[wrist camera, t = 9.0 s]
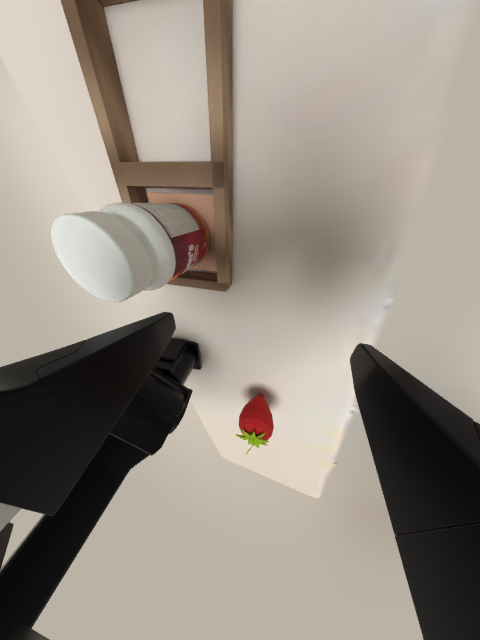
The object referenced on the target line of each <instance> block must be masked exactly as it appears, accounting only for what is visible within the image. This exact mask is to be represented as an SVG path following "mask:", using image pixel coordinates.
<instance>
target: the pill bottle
mask: <svg viewBox="0 0 480 640" xmlns="http://www.w3.org/2000/svg"><path fill="white" fill-rule="evenodd" d="M51 238H52V243H53V246H54V250H55V252H56V254H57V256H58V258H59V260H60V261H61V263H62V265H63V266H64V268H65V269H66V270H67V272H68V273H69V274H70V276H71V277H72V278H73V279H74V280H75V281H76V282H77V283H78V284H79V285H80V286H82V287H83V288H84V289H85V290H87V291H88V292H90V293H91V294H93V295H94V296H96V297H98V298H100V299H103V300H106V301H110V302H121V301H124V300H126V299H128V298H130V297H132V296H134V295H135V294H138V293H140V292H141V291H143V290H155V289H158V288H160V287H162V286H164V285H166V284H167V283H169V282H170V281H172V280H173V279H175V278H177V277H178V276H180V275H181V274H183V273H184V272H186V271H187V270H189V269H190V268H192V267H193V266H195V265H196V264H198V263H199V262H200V261H201V260H203V258H204V257H205V256H206V254H207V252H208V249H209V233H208V229H207V227H206V224H205V222H204V221H203V219H202V218H201V216H200V215H199V214H198V213H197V212H196V211H195V210H194V209H192V208H191V207H189V206H187V205H184V204H179V203H113V204H109V205H107V206H105V207H103V208H102V209H100V210H99V211H91V212H84V213H71V214H64V215H61V216H59V217H58V218H57V219H56V220H55V221H54V223H53V225H52V228H51Z"/></svg>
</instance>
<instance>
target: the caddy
mask: <svg viewBox="0 0 480 640" xmlns="http://www.w3.org/2000/svg"><path fill="white" fill-rule="evenodd" d="M129 1H134V0H61V3H62V6H63V10H64V13H65V16H66V19H67V23H68V26H69V29H70V32H71V36H72V39H73V42H74V46H75V49H76V52H77V55H78V59H79V62H80V65H81V69H82V72H83V75H84V78H85V82H86V85H87V88H88V92H89V95H90V98H91V101H92V105H93V108H94V111H95V114H96V118H97V121H98V124H99V128H100V131H101V134H102V137H103V141H104V144H105V147H106V151H107V154H108V157H109V160H110V164H111V167H112V170H113V174H114V177H115V180H116V183H117V187H118V190H119V193H120V196H121V200H122V203H148V199H147V195H146V191H145V188H182V189H213V194H186V193H150V192H147V193H148V198H149V202H150V203H179V204H184V205H187V206H189V207H191V208H192V209H194V210H195V211H196V212H197V213H198V214H199V215H200V216H201V218H202V219H203V221H204V222H205V224H206V227H207V229H208V233H209V249H208V252H207V254H206V256H205V257H204V258H203V260H201V261H200V262H199V263H198V264H196V265H195V266H193V267H192V268H190V269H196V270H205V271H215V272H217V274H212V273H203V272H194V271H186V272H184V273H183V274H181V275H180V276H178V277H177V278H175V279H173V280H172V281H170V282H169V283H167V284H171V285H179V286H186V287H194V288H202V289H210V290H217V291H225V292H226V291H227V290H228V288H229V287H230V285H231V284H232V0H203V6H204V25H205V45H206V65H207V85H208V104H209V124H210V144H211V161H210V162H139V161H138V156H137V152H136V148H135V144H134V139H133V135H132V131H131V126H130V122H129V118H128V113H127V109H126V105H125V101H124V96H123V92H122V88H121V83H120V79H119V75H118V71H117V66H116V62H115V58H114V53H113V49H112V45H111V40H110V36H109V32H108V28H107V23H106V19H105V15H104V10H103V6H108V5H113V4H118V3H124V2H129Z"/></svg>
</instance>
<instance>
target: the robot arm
mask: <svg viewBox="0 0 480 640" xmlns="http://www.w3.org/2000/svg"><path fill="white" fill-rule="evenodd" d="M175 328H176V325H175V320H174V316H173V314H172V313H169V312H163V313H160V314H157V315H154V316H151V317H149V318H146V319H143V320H140V321H137V322H134V323H132V324H129V325H126V326H123V327H120V328H117V329H115V330H112V331H109V332H106V333H103V334H100V335H98V336H95V337H92V338H89V339H87V340H84V341H81V342H78V343H75V344H72V345H69V346H66V347H63V348H60V349H57V350H54V351H51V352H48V353H45V354H42V355H38V356H35V357H32V358H29V359H25V360H22V361H19V362H15V363H12V364H9V365H6V366H3V367H0V640H49V639H48V638H46V637H44V636H42V635H41V634H39V633H38V632H36V631H34V630H33V629H31V628H32V627H33V625H34V623H35V621H36V620H37V619H38V617H39V615H40V614H41V612H42V610H43V609H44V607H45V606H46V604H47V602H48V601H49V599H50V598H51V596H52V594H53V593H54V591H55V590H56V588H57V586H58V585H59V583H60V581H61V580H62V578H63V576H64V575H65V573H66V572H67V570H68V569H69V567H70V565H71V564H72V562H73V561H74V559H75V557H76V556H77V554H78V552H79V551H80V549H81V548H82V546H83V544H84V543H85V541H86V540H87V538H88V536H89V534H90V533H91V532H92V530H93V528H94V527H95V525H96V523H97V522H98V520H99V519H100V517H101V515H102V514H103V512H104V511H105V509H106V507H107V506H108V504H109V502H110V501H111V499H112V498H113V496H114V494H115V493H116V491H117V490H118V488H119V486H120V485H121V483H122V481H123V480H124V478H125V477H126V475H127V474H128V472H129V471H130V469H131V468H133V467H134V466H135V465H137V464H138V463H140V462H141V461H142V460H144V459H145V458H146V457H148V456H149V455H153V454H155V453H156V452H157V451H158V450H159V449H160V448H161V447H162V445H163V443H164V441H165V440H166V437H167V436H168V434H170V433H172V432H173V431H174V429H176V427H177V426H178V424H179V423H180V421H181V419H182V417H183V415H184V413H185V410H186V408H187V405H188V402H189V399H190V397H191V394H192V390H191V389H188V388H187V387H185V386H184V383H185V381H186V379H187V378H188V376H189V374H190V372H191V371H192V369H198V370H200V369H201V360H200V354H199V347H198V344H196V343H192V342H187V341H182V340H176V339H171V337H172V335H173V333H174V331H175ZM350 364H351V370H352V377H353V384H354V390H355V394H356V398H357V402H358V405H359V409H360V413H361V416H362V419H363V423H364V427H365V430H366V434H367V437H368V441H369V445H370V448H371V452H372V456H373V459H374V463H375V466H376V470H377V473H378V477H379V481H380V484H381V487H382V491H383V495H384V498H385V502H386V506H387V509H388V513H389V516H390V520H391V523H392V527H393V530H394V534H395V535H396V536H395V539H396V542H397V546H398V549H399V553H400V556H401V560H402V563H403V567H404V571H405V574H406V578H407V581H408V585H409V589H410V592H411V596H412V599H413V603H414V606H415V610H416V614H417V617H418V621H419V624H420V628H421V631H422V635H423V639H424V640H480V424H479V423H477V422H475V421H473V419H471V418H470V417H469V416H467V415H466V414H465V413H463V412H462V411H461V410H459V409H458V408H456V407H455V406H453V405H452V404H451V403H450V402H448V401H447V400H445V399H444V398H443V397H441V396H440V395H439V394H437V393H436V392H434V391H433V390H432V389H430V388H429V387H428V386H426V385H425V384H423V383H422V382H421V381H419V380H418V379H417V378H415V377H414V376H412V375H411V374H410V373H408V372H407V371H405V370H404V369H403V368H401V367H400V366H398V365H397V364H396V363H394V362H393V361H392V360H390V359H389V358H388V357H386V356H385V355H384V354H382V353H381V352H379V351H378V350H377V349H375V348H374V347H373V346H371V345H368V344H362V343H360V344H358V345H357V346H356V348H355V350H354V351H353V353H352V355H351V357H350ZM21 508H22V509H26V510H30V511H34V512H38V513H42V514H44V515H43V516H42V517H41V518H40V520H39V521H38V522H37V523H36V525H35V526H34V527H33V529H32V530H31V531H30V532H29V534H28V535H27V536H26V538H25V539H24V540H23V541H22V542H21V544H20V545H19V546H18V548H17V549H16V550H15V551H14V553H13V554H12V555H11V556H10V558H9V559H8V560H7V562H6V563H5V564H4V566H3V567H2V568H1V566H2V562H3V559H4V556H5V552H6V549H7V545H8V542H9V538H10V535H11V532H12V528H13V524H12V523H10V522H9V521H10V520H11V519H12V518H13V517H14V516H15V515H16V513H17V512H18V511H19V510H20V509H21Z"/></svg>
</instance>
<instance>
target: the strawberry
mask: <svg viewBox="0 0 480 640" xmlns="http://www.w3.org/2000/svg"><path fill="white" fill-rule="evenodd" d="M239 427H240V430H241V432H242V434H243V435H244V436H242V435H236V436H238V437H240V438H242V439H244V440H247V439H248V444H253V445H255V446H256V447H258V448H259V444H262V445H267V444H265V442H268V441H267V440H268V439H269V438H270V437H271V436H272V432H273V428H274V426H273V419H272V414H271V411H270V409H269V407H268V404H267V402H266V401H265V399H264V397H263V395H261V394H258V395H257V396H256V397H255V398H253V399H252V400H250V401H249V402H248V403H247V404H246V405H245V406H244V408H243V410H242V412H241V414H240V417H239ZM253 445H252V446H253ZM251 448H252V447H251ZM251 448H250V449H251ZM250 449H249V450H250ZM249 450H248V451H249ZM247 453H248V452H247ZM247 453H246V454H247Z"/></svg>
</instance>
